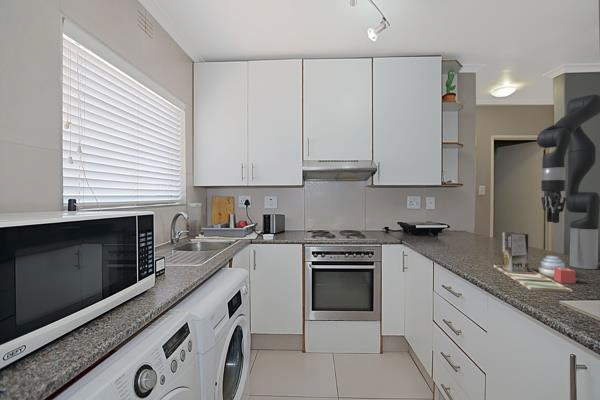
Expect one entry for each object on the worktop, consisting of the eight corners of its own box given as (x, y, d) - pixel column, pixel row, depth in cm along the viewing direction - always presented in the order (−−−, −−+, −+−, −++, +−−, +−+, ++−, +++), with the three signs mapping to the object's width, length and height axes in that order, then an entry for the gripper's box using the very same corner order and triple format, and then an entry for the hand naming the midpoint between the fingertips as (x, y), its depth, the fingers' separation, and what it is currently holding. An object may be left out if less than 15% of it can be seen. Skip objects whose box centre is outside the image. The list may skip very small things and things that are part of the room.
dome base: (534, 271, 134) (534, 265, 134) (559, 272, 132) (559, 266, 132) (544, 276, 125) (544, 270, 125) (571, 277, 123) (571, 271, 123)
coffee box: (528, 273, 130) (529, 234, 130) (511, 273, 131) (511, 233, 131) (518, 268, 139) (518, 231, 139) (501, 268, 140) (502, 231, 140)
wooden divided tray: (493, 266, 142) (493, 265, 142) (524, 268, 139) (524, 266, 139) (529, 289, 108) (529, 287, 108) (572, 292, 105) (572, 289, 105)
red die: (554, 279, 121) (554, 267, 121) (568, 280, 120) (568, 268, 120) (560, 282, 117) (560, 270, 117) (575, 283, 115) (575, 270, 115)
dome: (536, 265, 133) (537, 254, 133) (558, 266, 131) (558, 255, 131) (546, 269, 126) (546, 257, 126) (568, 270, 124) (568, 258, 124)
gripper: (574, 178, 120) (574, 224, 121) (554, 180, 134) (554, 221, 134) (551, 178, 122) (551, 223, 122) (534, 180, 136) (533, 220, 136)
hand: (552, 222), depth 128 cm, fingers open, 3 cm apart
